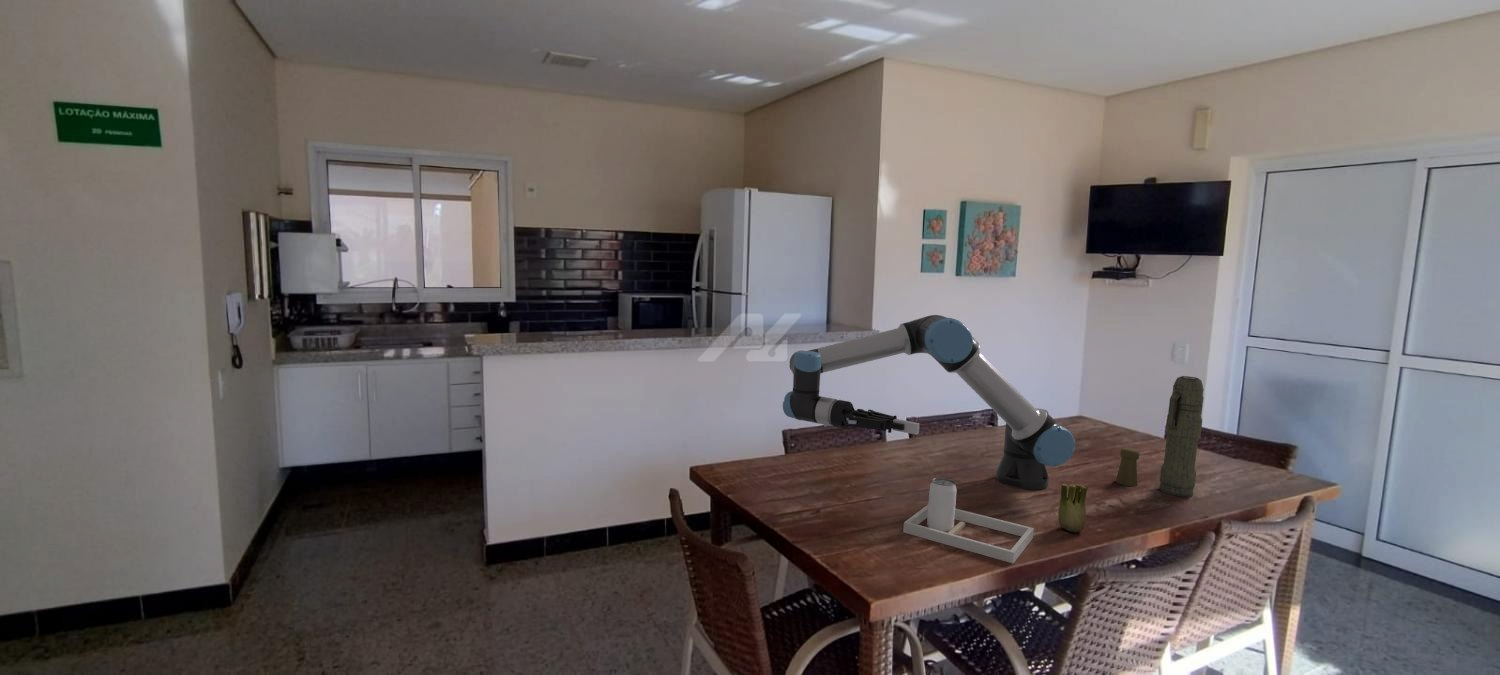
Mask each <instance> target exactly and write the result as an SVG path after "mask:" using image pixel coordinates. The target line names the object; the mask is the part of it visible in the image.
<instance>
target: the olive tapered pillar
mask: <svg viewBox="0 0 1500 675" xmlns="http://www.w3.org/2000/svg"><path fill="white" fill-rule="evenodd" d="M1119 454H1120V463H1119V467H1118V470H1117V474H1116V479H1115V482H1116V484H1119V485H1122V486H1128V487H1136V486H1138V484H1139V483H1138V462H1137V461H1138V460H1139V458H1140V452H1139V450H1138V449H1136V448H1132V447H1123V448H1121V449H1120V453H1119Z"/></svg>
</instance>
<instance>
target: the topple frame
mask: <svg viewBox="0 0 1500 675" xmlns="http://www.w3.org/2000/svg"><path fill="white" fill-rule="evenodd" d="M927 517H928V504H927V505H926V506H924V507H923V508H922V509H920V510H919V511H917V512H916V513H915V514H914V515H912V516H910V517H909V518H908V519H907V520H905V521H904V522H903V531H902V533H905V534H908V535H911V536H915V537H919V538H922V539H925V540H930V541H933V542H936V543H940V544H942V545H947V546H950V547H954V548H957V549H960V550H964V551H967V552H972V553H975V554H977V555H978V554H979V555H980V556H981V555H982V556H985V557H988V558H992V559H996V560H999V561H1002V562H1007V563H1009V564H1015V562H1016V560H1017V559H1018V558H1019V557H1020V555H1021V554H1022V553H1023V552H1024V550H1025V549H1026V548H1027V546H1028V545H1029V544H1030V542H1031V541H1033V539H1034V532H1035V530H1034V529H1035V528H1033V527H1031V526H1026V525H1023V524H1018V523H1014V522H1011V521H1007V520H1002V519H999V518H994V517H990V516H987V515H983V514H978V513H976V512H972V511H967V510H962V509H959V508H956V507H955V518H954V520H957V521H959V522H958V523H957V524H956V525H954V528H953V529H951V530H950V531H949V532H943V531H939V530H936V529H932V528H929V527H928V526H924V525H921V523H922V522H924V521H926V519H927ZM966 523H968V524H972V525H976V526H979V527H980V526H981V527H984V528H987V529H990V530H995V531H999V532H1003V533H1005V534H1006V533H1007V534H1011V535H1015V536H1017V537H1020V538H1019V539H1018V541H1016V543H1015V544H1014V545H1013V546H1012V548H1011V549H1008V548H1004V547H1001V546H998V545H993V544H989V543H986V542H982V541H979V540H975V539H971V538H968V537H964V536H960V535H957V534H959V532H960V531H961V530H962V529H964V528H965V527H966Z"/></svg>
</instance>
